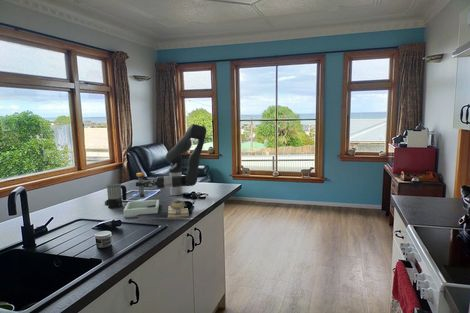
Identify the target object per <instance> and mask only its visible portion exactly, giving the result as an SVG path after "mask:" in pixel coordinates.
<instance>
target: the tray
mask: <svg viewBox="0 0 470 313" xmlns="http://www.w3.org/2000/svg"><path fill="white" fill-rule="evenodd" d="M150 206H152V207H150ZM153 206H154V207H153ZM159 207H160V199H150V200H148V199H147V200H135V201H128V202H127V203H126V205H125V207H124V208H123V218H134V217H137V216H138V215H147V214H148V215H150V214H158V213H159Z"/></svg>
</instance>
